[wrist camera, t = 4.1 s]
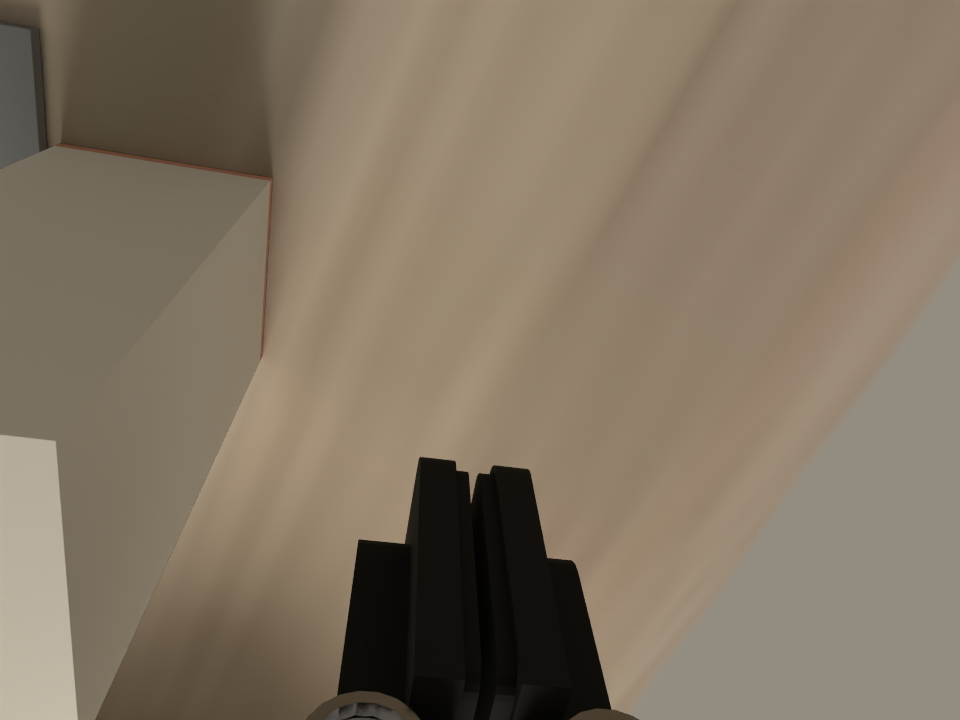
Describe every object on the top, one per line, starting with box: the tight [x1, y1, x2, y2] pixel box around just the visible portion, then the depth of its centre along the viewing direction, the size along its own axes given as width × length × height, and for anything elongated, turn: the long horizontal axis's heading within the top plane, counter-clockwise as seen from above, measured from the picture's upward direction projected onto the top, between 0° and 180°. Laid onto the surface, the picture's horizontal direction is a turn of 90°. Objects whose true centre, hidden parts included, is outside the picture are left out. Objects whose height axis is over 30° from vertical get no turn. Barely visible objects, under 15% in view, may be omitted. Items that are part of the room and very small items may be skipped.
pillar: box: [0, 143, 273, 720], centre depth 14 cm, size 5×5×12 cm
